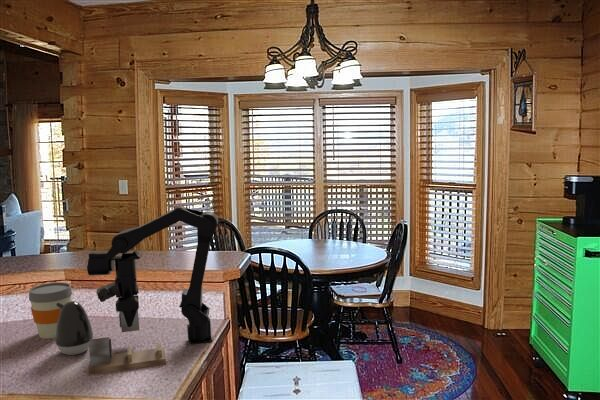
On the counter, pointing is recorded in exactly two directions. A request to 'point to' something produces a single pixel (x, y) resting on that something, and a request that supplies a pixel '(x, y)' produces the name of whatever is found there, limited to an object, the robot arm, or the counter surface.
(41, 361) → the counter surface
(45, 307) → the reusable coffee cup
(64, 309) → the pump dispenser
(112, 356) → the rail
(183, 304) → the robot arm
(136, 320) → the block
